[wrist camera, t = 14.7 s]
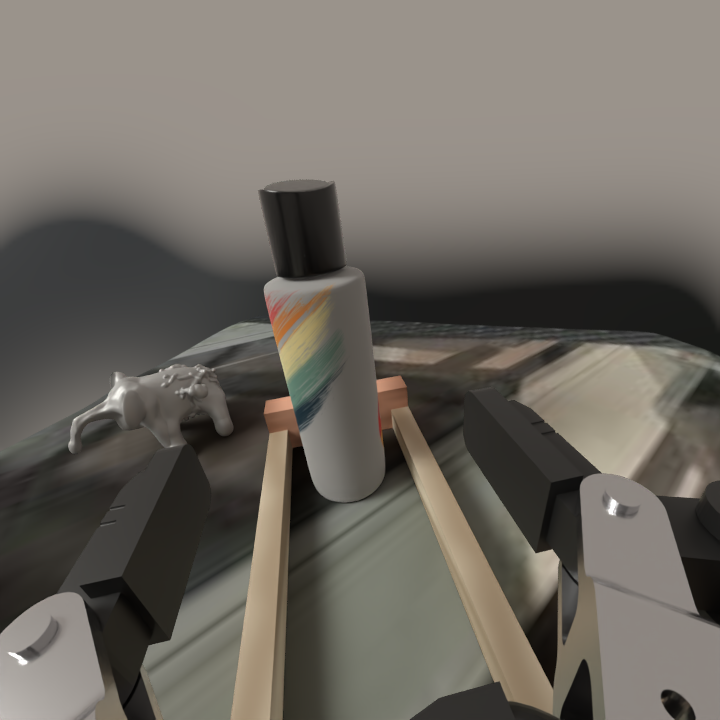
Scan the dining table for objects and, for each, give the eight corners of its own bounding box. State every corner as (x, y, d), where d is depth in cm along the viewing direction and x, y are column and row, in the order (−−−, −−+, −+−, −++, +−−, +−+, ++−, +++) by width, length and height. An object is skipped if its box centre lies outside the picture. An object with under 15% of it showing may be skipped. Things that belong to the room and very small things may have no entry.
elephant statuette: (254, 422, 33) (235, 353, 30) (134, 512, 24) (88, 425, 21) (197, 405, 38) (175, 344, 35) (77, 476, 28) (32, 400, 25)
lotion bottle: (366, 438, 28) (329, 177, 19) (400, 484, 24) (373, 166, 15) (304, 464, 27) (230, 188, 18) (326, 518, 22) (242, 179, 13)
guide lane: (181, 1342, 6) (75, 1482, 4) (276, 436, 30) (266, 400, 28) (733, 1106, 7) (828, 1143, 6) (402, 411, 31) (400, 375, 29)
